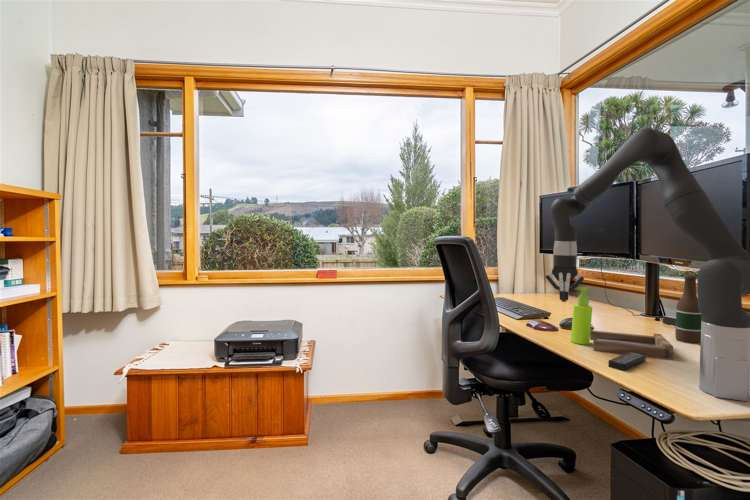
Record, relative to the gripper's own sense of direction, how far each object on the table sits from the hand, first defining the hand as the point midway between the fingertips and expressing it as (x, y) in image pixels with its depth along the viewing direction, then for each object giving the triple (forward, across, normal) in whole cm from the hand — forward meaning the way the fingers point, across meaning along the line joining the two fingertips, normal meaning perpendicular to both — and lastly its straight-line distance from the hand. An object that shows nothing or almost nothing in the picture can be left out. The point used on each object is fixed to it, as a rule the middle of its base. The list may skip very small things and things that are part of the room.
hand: (563, 301), depth 138 cm
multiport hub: (+15, +17, -19) cm, 29 cm away
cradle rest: (+14, +20, 0) cm, 25 cm away
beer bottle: (+15, +41, +19) cm, 48 cm away
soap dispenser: (+15, +5, 0) cm, 15 cm away
